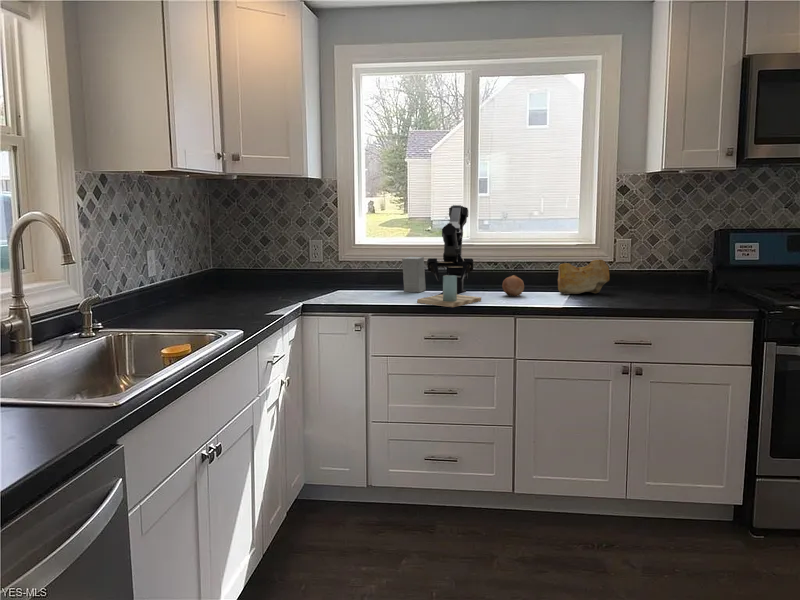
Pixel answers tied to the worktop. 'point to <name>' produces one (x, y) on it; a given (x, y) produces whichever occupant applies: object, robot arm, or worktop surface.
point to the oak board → (439, 301)
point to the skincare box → (413, 274)
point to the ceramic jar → (449, 288)
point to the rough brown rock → (582, 277)
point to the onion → (513, 286)
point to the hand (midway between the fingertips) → (449, 281)
